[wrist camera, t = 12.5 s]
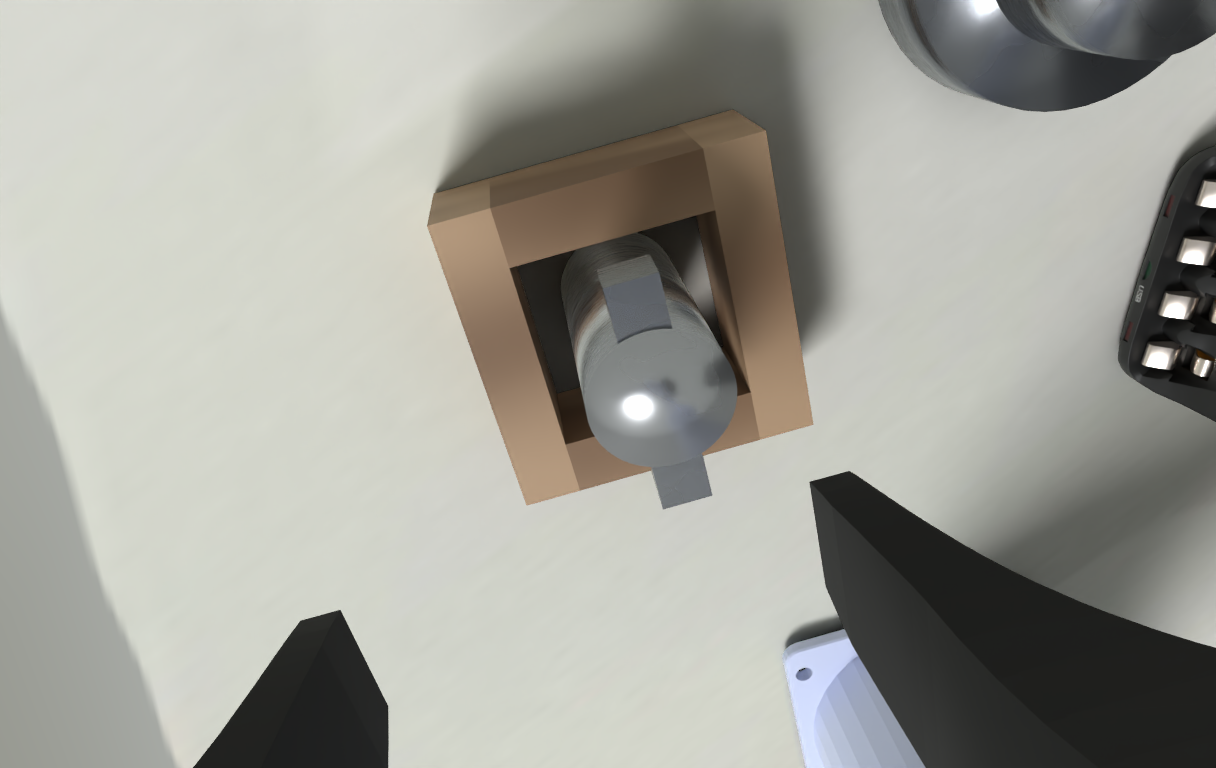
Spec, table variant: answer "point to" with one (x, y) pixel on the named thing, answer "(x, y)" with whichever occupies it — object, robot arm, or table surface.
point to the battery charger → (1178, 295)
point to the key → (647, 363)
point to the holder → (603, 210)
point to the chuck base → (1003, 57)
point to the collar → (1115, 25)
